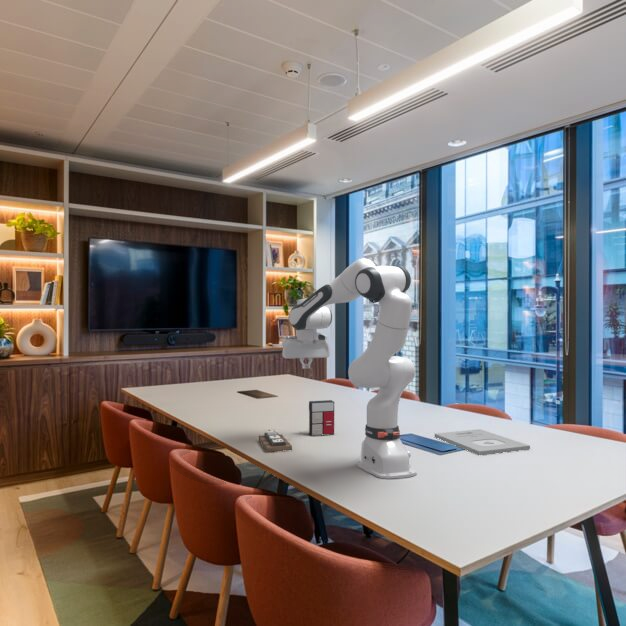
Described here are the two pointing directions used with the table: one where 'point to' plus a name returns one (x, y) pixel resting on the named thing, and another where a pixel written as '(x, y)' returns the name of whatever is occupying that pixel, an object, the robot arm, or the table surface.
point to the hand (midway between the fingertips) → (306, 368)
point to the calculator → (321, 417)
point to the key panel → (272, 446)
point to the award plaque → (481, 442)
